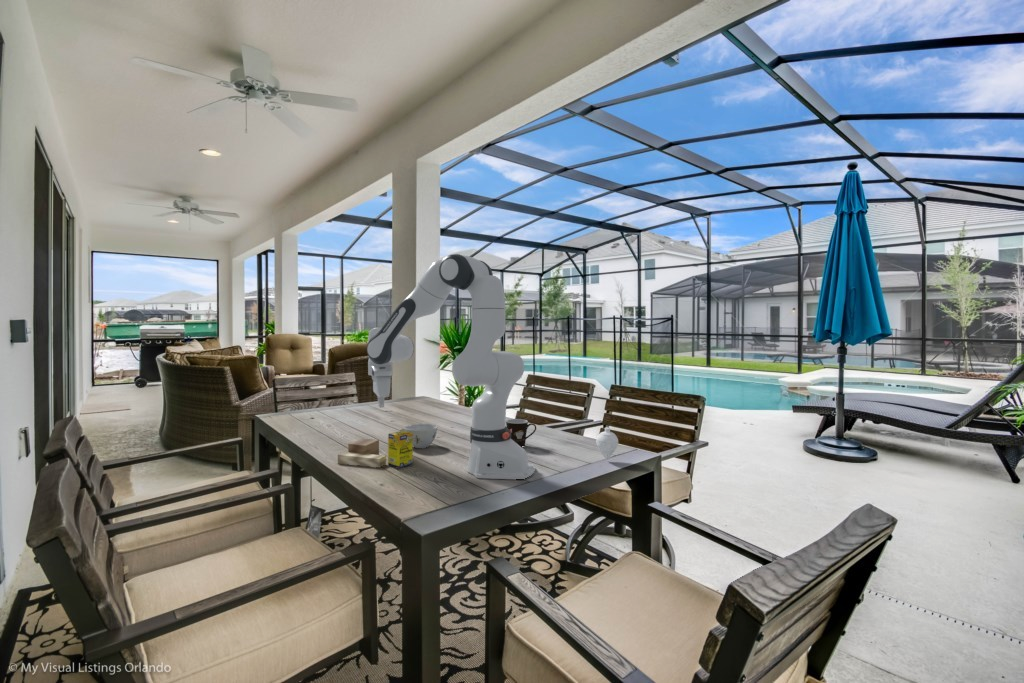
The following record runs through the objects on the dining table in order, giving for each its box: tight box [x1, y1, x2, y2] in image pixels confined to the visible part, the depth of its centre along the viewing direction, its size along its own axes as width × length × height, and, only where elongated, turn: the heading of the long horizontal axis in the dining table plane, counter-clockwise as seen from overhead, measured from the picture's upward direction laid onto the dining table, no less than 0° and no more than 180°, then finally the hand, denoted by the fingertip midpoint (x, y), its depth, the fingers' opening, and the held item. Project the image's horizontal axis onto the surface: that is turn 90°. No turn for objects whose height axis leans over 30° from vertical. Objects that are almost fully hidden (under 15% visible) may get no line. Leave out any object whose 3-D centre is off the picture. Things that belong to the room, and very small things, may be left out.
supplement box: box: [387, 430, 414, 469], centre depth 158 cm, size 6×6×11 cm
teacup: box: [399, 423, 439, 449], centre depth 182 cm, size 15×12×8 cm
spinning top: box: [595, 427, 619, 460], centre depth 164 cm, size 8×8×12 cm
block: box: [347, 438, 380, 455], centre depth 165 cm, size 7×8×6 cm
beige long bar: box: [337, 451, 387, 468], centre depth 159 cm, size 16×4×3 cm, turn 75°
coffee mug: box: [505, 418, 537, 447], centre depth 183 cm, size 12×9×10 cm
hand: (381, 406), depth 175 cm, fingers closed
